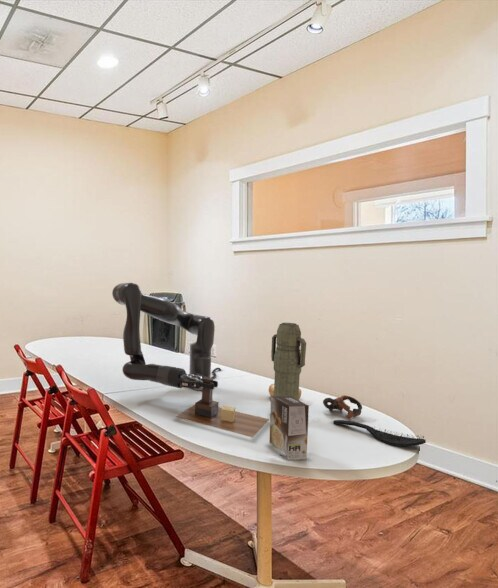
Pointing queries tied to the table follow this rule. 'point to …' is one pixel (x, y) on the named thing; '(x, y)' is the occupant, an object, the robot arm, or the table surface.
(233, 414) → the light tan wooden block
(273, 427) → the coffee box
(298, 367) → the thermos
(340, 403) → the brown looped piece
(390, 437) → the hairbrush
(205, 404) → the wooden post on base
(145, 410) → the table surface
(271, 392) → the pastry
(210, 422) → the cutting board
